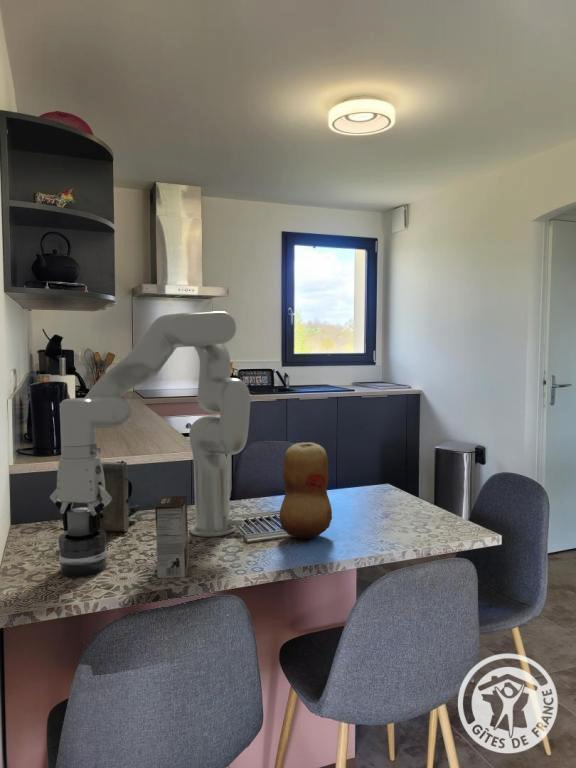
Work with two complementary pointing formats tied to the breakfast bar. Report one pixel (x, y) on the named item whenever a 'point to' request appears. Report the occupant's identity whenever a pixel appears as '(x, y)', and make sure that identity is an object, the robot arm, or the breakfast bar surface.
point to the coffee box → (172, 536)
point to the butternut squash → (305, 491)
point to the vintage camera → (117, 498)
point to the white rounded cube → (78, 521)
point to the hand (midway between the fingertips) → (81, 529)
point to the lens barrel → (82, 554)
